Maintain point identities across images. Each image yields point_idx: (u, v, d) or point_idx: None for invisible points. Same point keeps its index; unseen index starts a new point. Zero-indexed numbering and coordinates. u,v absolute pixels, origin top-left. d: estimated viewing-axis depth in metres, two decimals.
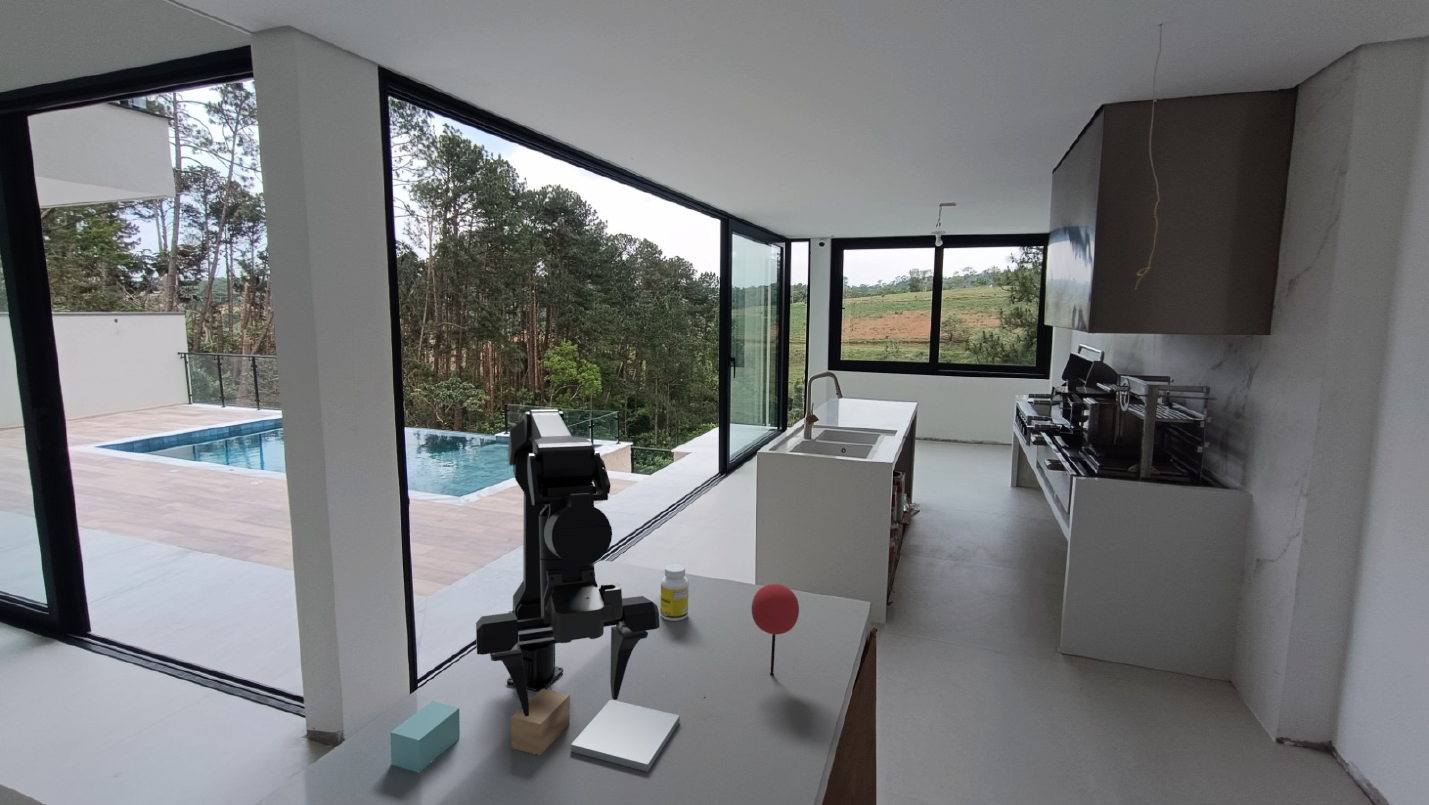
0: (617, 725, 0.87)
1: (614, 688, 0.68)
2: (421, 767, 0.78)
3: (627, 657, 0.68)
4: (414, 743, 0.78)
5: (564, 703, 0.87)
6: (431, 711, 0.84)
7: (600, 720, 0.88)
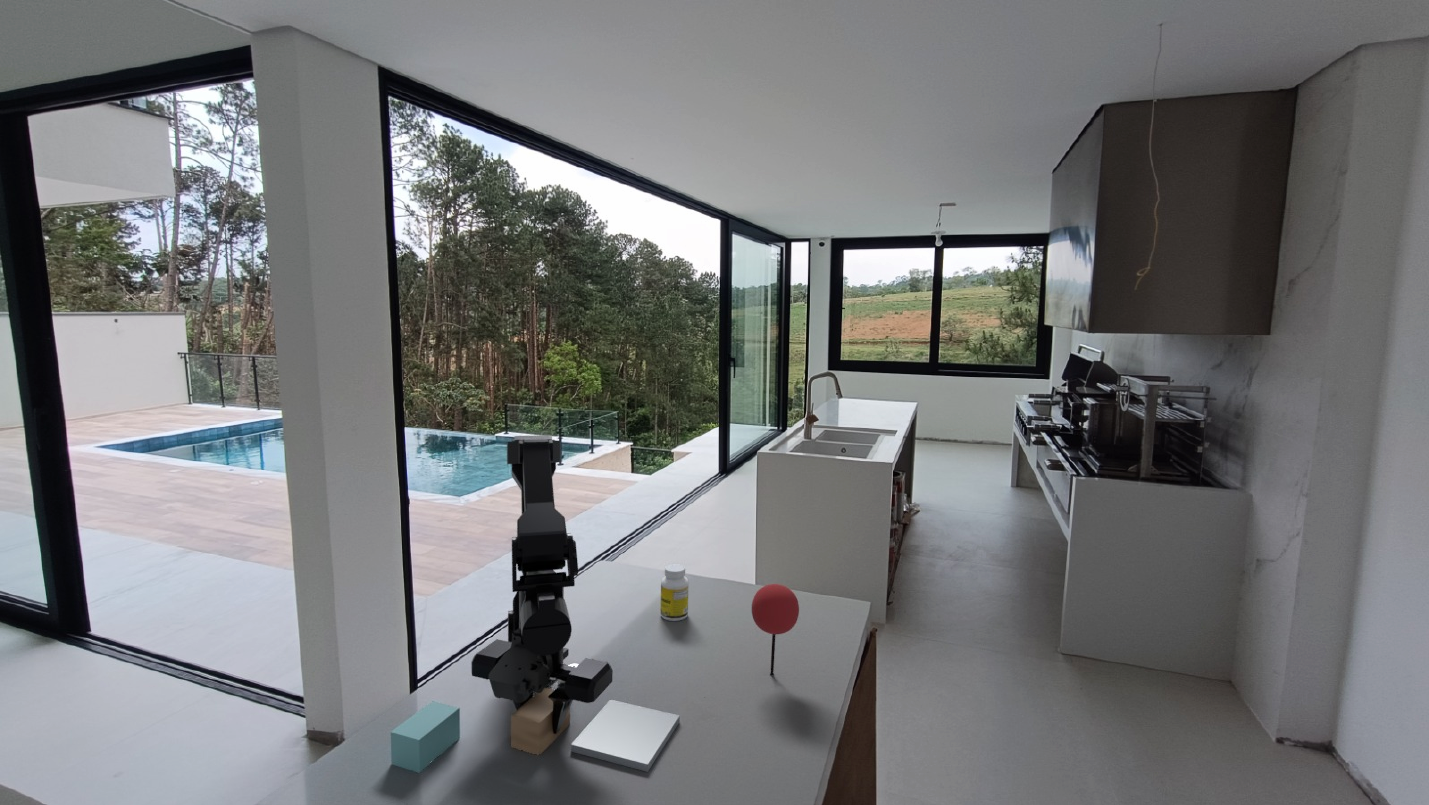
0: (617, 725, 0.87)
1: (553, 726, 0.84)
2: (421, 766, 0.78)
3: (559, 708, 0.83)
4: (414, 742, 0.78)
5: None
6: (431, 711, 0.84)
7: (600, 720, 0.88)
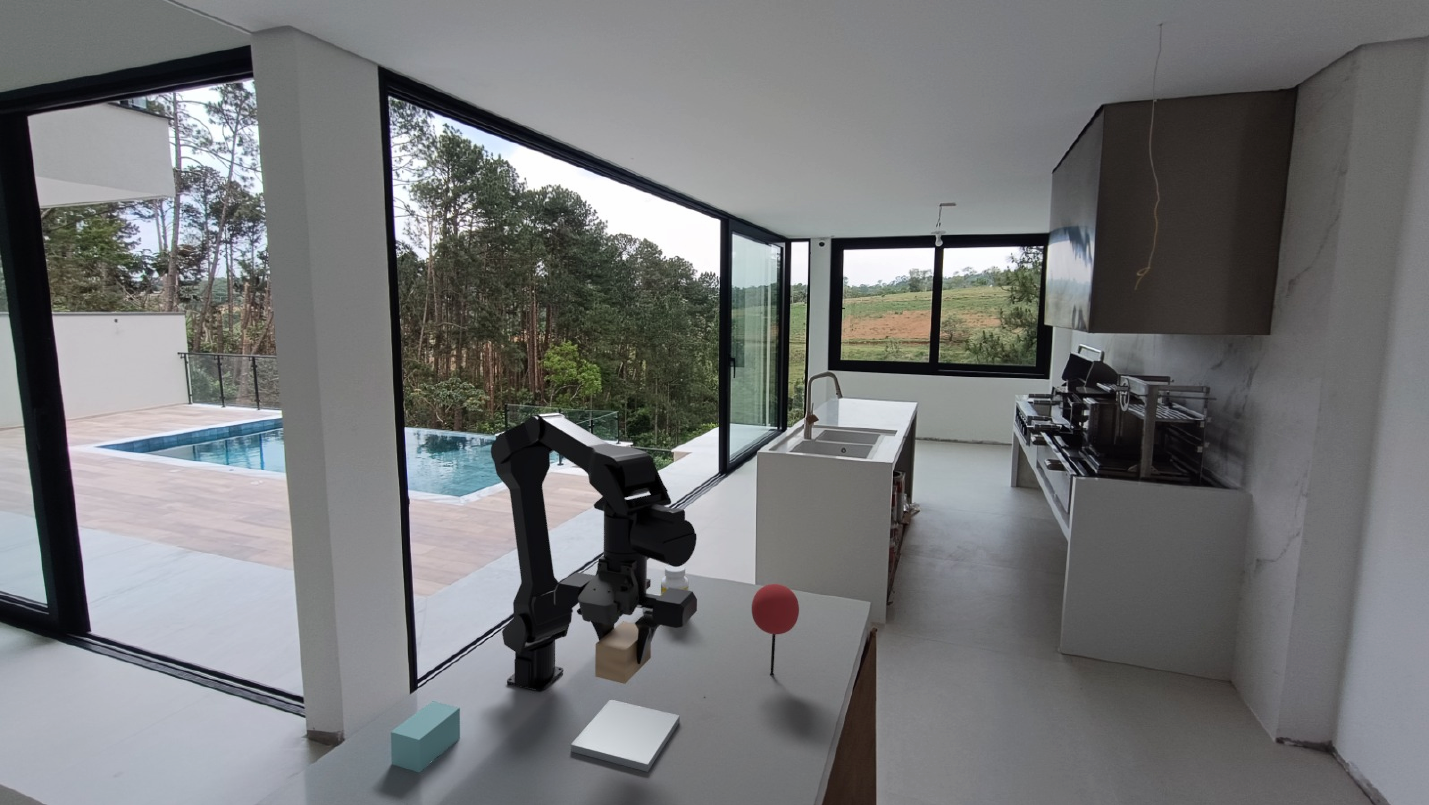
0: (617, 725, 0.87)
1: (637, 655, 0.84)
2: (421, 766, 0.79)
3: (645, 637, 0.82)
4: (414, 742, 0.78)
5: None
6: (432, 710, 0.84)
7: (600, 720, 0.88)
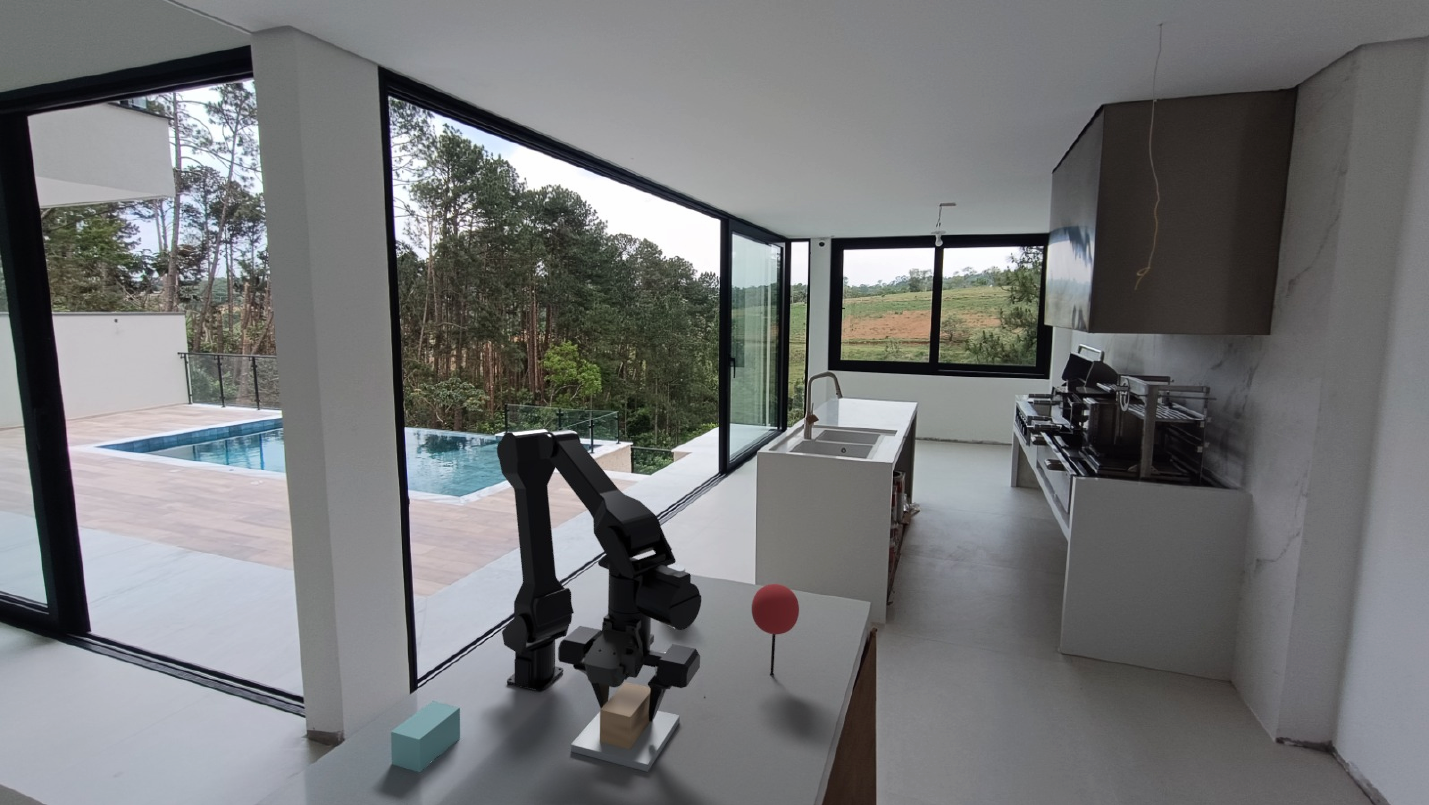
0: None
1: (649, 713, 0.84)
2: (421, 766, 0.79)
3: (657, 696, 0.83)
4: (414, 742, 0.78)
5: (649, 697, 0.87)
6: (432, 710, 0.84)
7: None
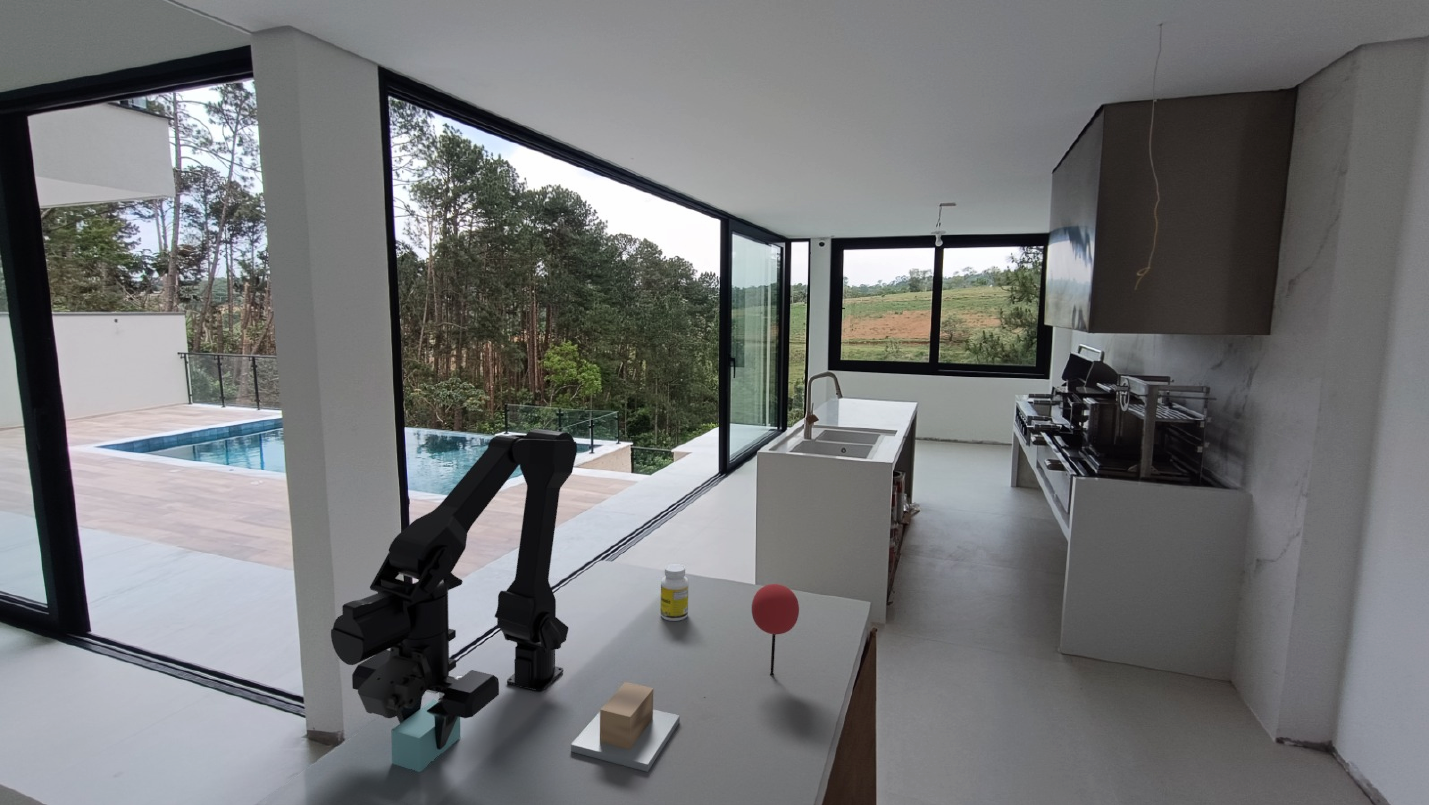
0: None
1: (436, 741, 0.81)
2: (422, 765, 0.79)
3: (441, 723, 0.79)
4: (414, 741, 0.78)
5: (649, 697, 0.87)
6: None
7: None
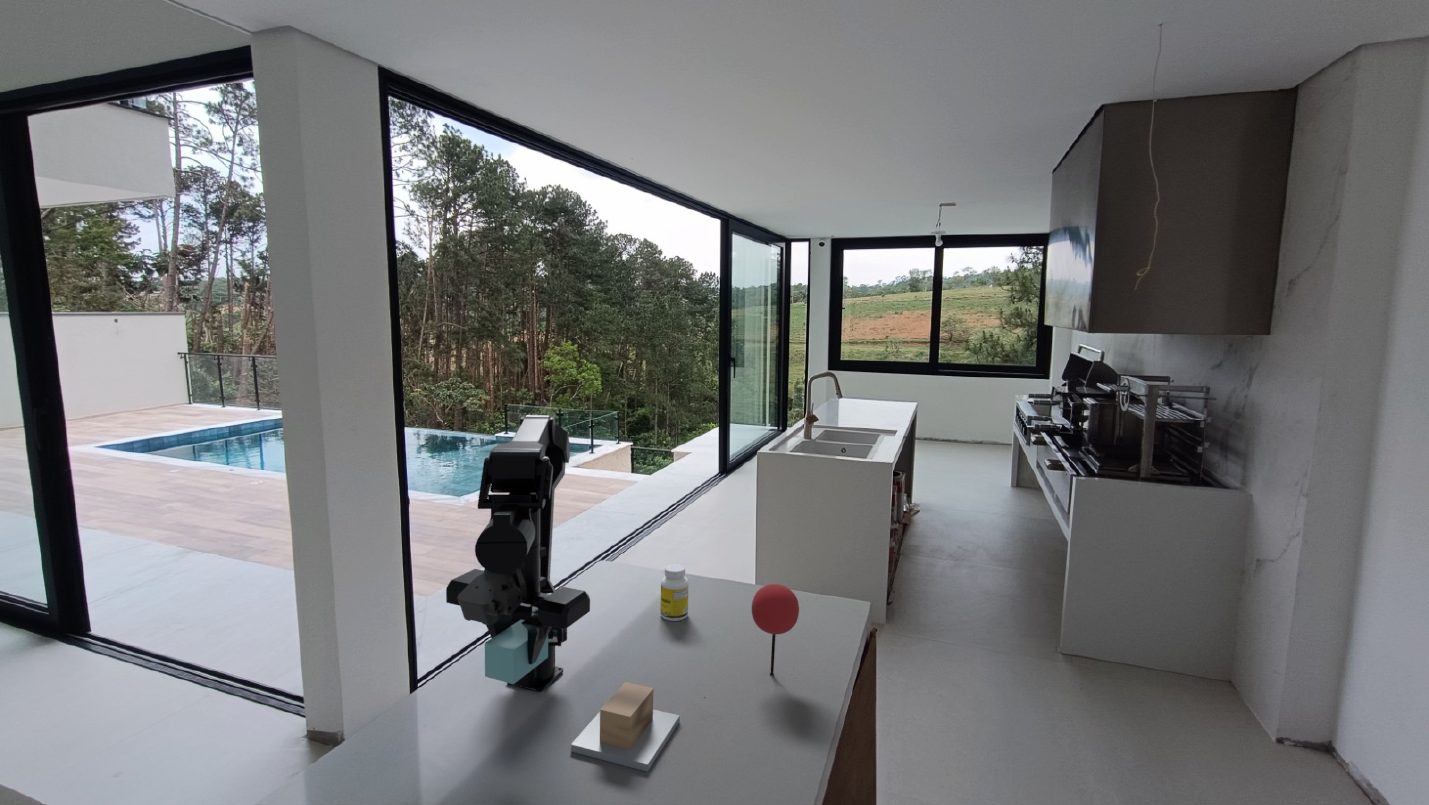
0: None
1: (528, 656, 0.81)
2: (515, 677, 0.79)
3: (534, 637, 0.80)
4: (508, 653, 0.79)
5: (649, 697, 0.87)
6: (521, 627, 0.84)
7: None
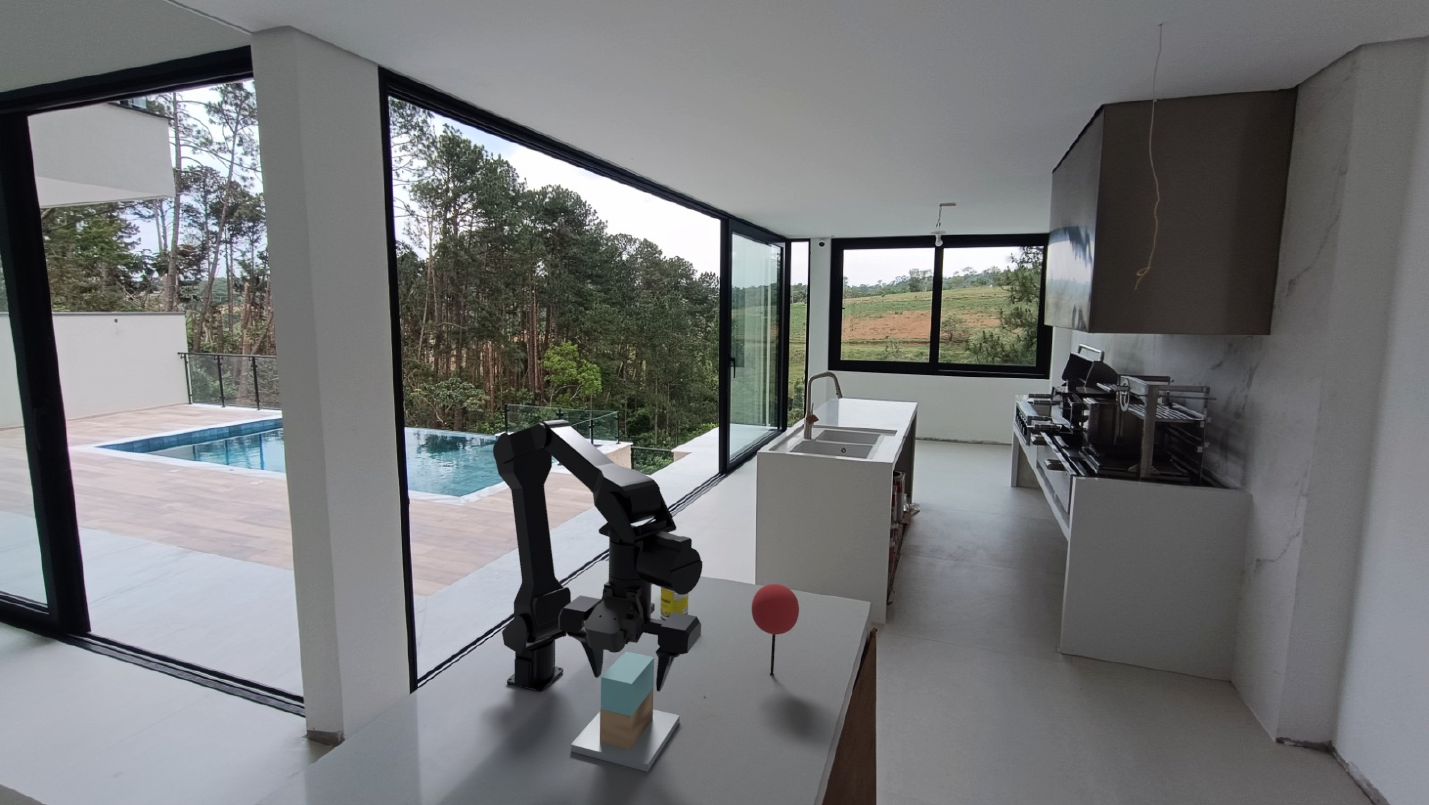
0: None
1: (656, 683, 0.84)
2: (632, 710, 0.82)
3: (665, 665, 0.82)
4: (626, 686, 0.82)
5: (649, 697, 0.87)
6: (629, 659, 0.87)
7: None
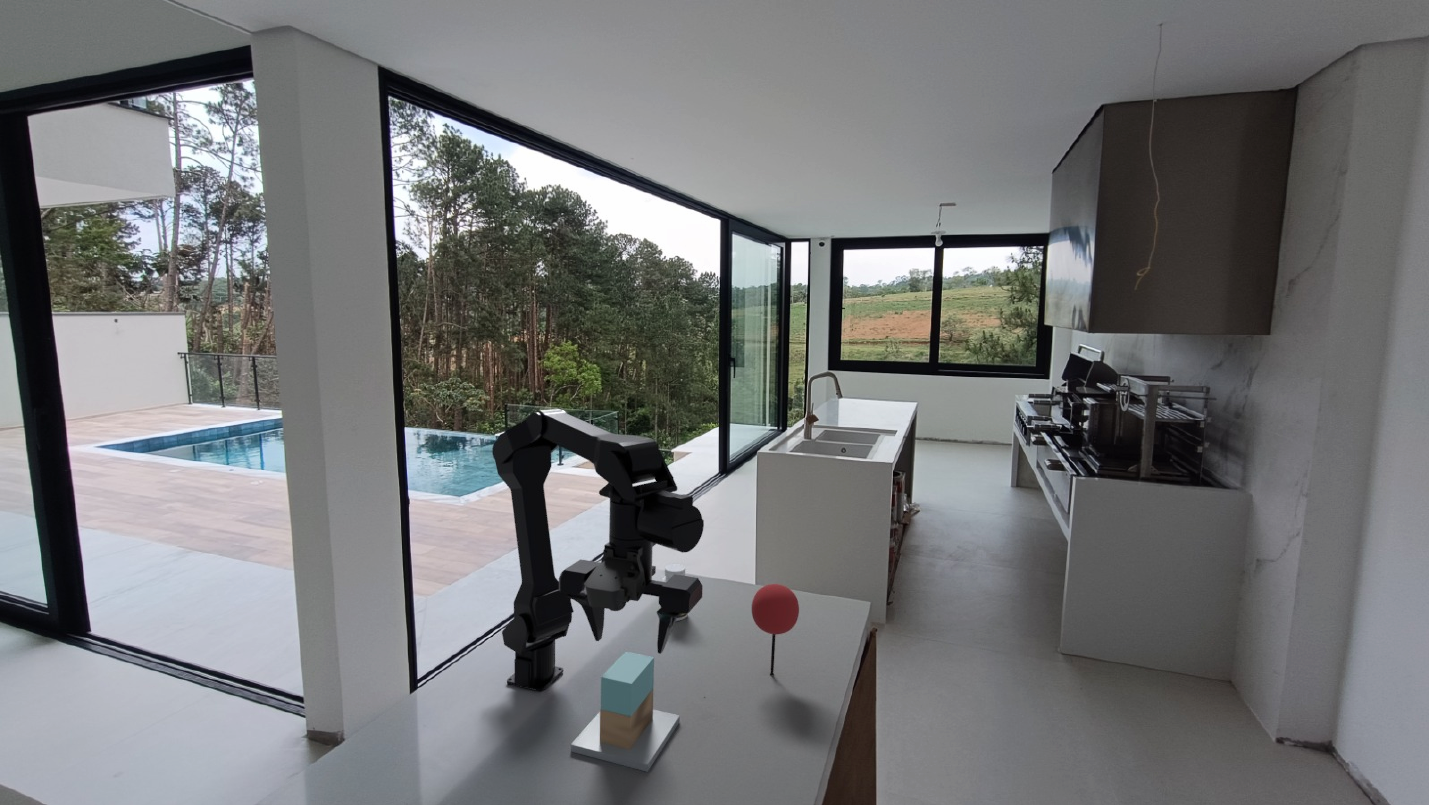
0: None
1: (657, 645, 0.83)
2: (632, 710, 0.82)
3: (666, 626, 0.82)
4: (626, 686, 0.82)
5: (649, 697, 0.87)
6: (629, 659, 0.87)
7: None
